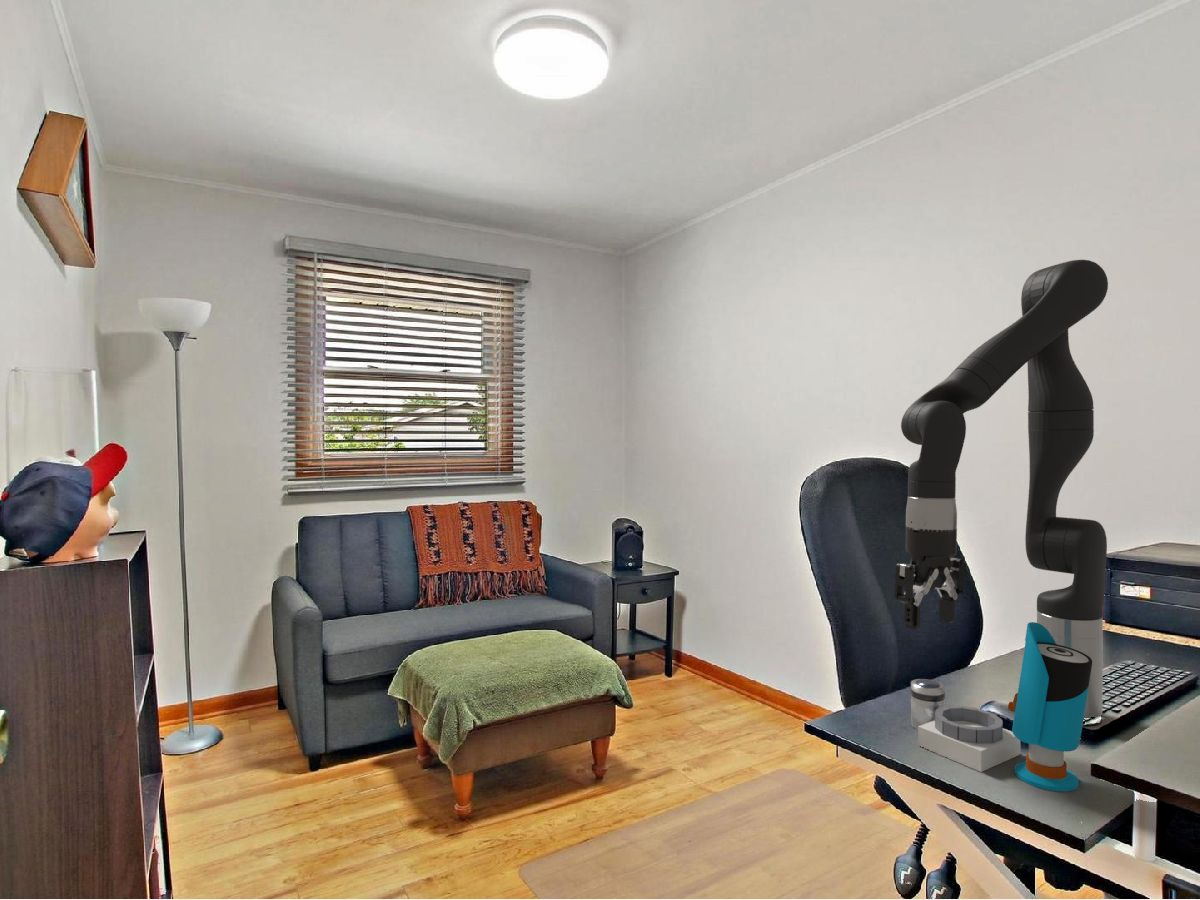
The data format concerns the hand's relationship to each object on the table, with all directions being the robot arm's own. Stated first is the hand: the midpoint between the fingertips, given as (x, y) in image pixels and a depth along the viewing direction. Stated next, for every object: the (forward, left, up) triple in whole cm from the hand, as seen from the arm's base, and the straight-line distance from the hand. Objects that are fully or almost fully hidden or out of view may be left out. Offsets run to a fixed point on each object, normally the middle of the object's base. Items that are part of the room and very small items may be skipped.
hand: (929, 625), depth 116 cm
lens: (0, -1, -17) cm, 17 cm away
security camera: (+1, +19, -17) cm, 26 cm away
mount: (+2, +8, -17) cm, 19 cm away
